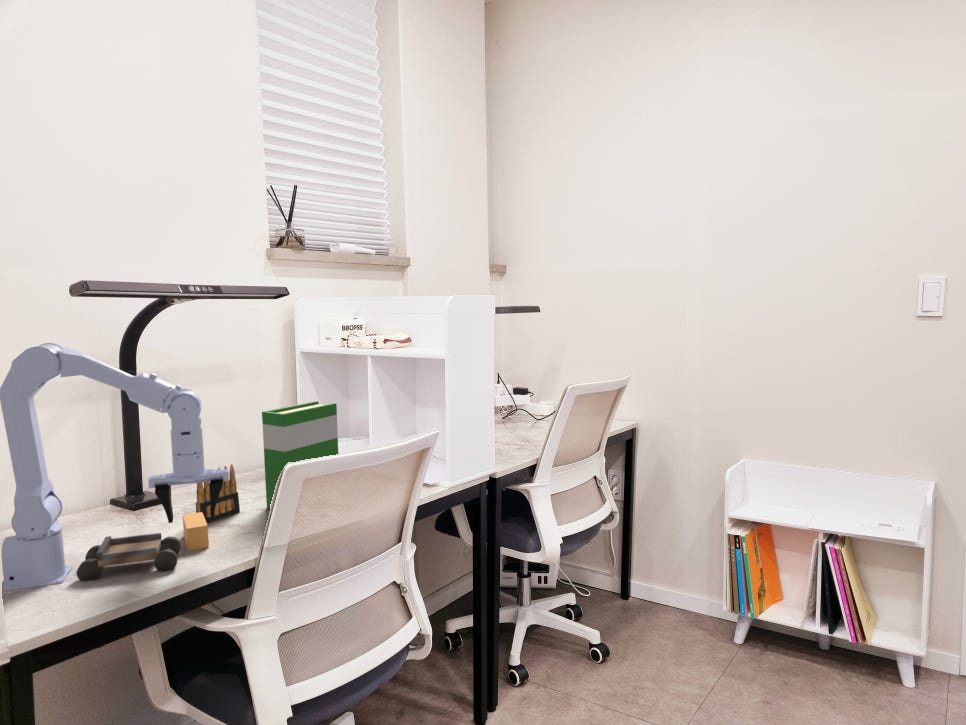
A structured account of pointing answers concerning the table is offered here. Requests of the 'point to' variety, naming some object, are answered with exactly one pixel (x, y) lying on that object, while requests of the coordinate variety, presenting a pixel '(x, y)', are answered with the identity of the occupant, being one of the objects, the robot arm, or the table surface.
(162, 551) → the dolly
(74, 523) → the table surface
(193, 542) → the block
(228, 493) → the ammunition clip
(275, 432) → the hardback book
